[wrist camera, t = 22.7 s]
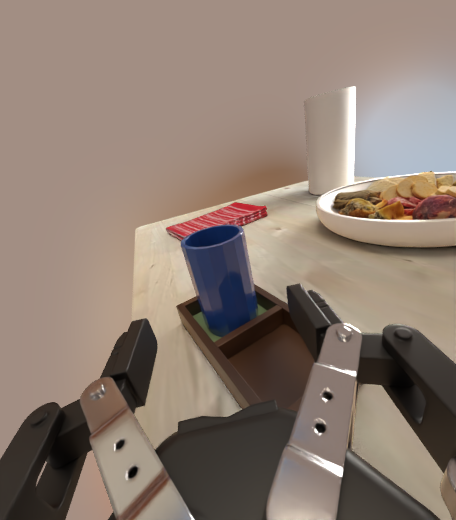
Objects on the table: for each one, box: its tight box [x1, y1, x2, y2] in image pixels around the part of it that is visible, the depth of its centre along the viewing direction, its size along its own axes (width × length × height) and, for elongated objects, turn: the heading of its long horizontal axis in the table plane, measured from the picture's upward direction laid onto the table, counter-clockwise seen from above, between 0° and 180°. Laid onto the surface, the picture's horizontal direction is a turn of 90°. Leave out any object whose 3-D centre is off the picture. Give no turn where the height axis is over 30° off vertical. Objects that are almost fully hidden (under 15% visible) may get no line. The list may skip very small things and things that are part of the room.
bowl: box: [316, 171, 456, 247], centre depth 41 cm, size 30×30×8 cm
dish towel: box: [166, 202, 267, 240], centre depth 64 cm, size 17×24×3 cm
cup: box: [181, 224, 259, 337], centre depth 24 cm, size 6×6×10 cm
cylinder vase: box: [304, 87, 356, 195], centre depth 68 cm, size 12×12×25 cm
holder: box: [176, 284, 362, 412], centre depth 23 cm, size 9×17×3 cm, turn 31°
